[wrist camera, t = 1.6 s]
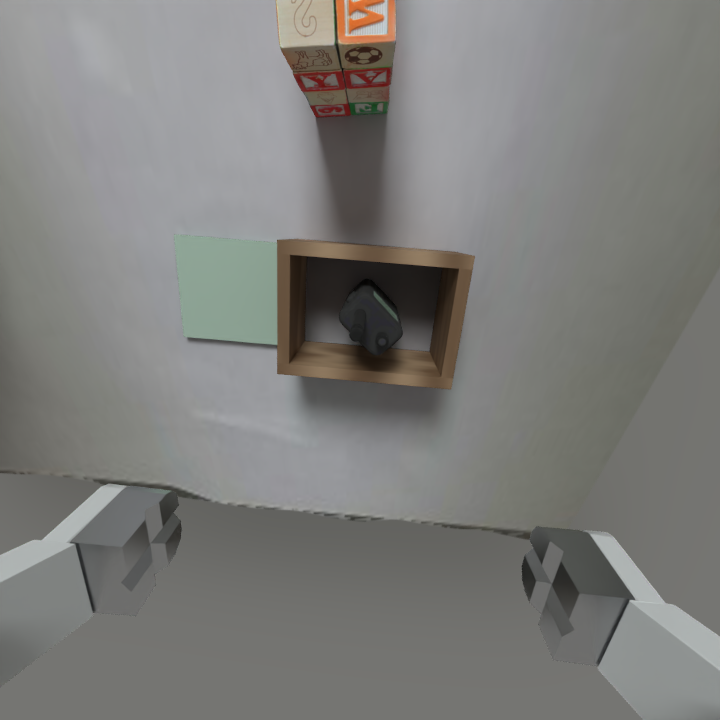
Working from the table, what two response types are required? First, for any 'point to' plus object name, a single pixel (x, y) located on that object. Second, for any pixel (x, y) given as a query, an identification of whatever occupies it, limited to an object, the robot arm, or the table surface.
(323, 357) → the access box
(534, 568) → the robot arm
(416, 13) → the table surface
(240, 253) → the place mat
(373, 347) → the walkie-talkie
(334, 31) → the stack of blocks
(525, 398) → the table surface
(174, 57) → the table surface
